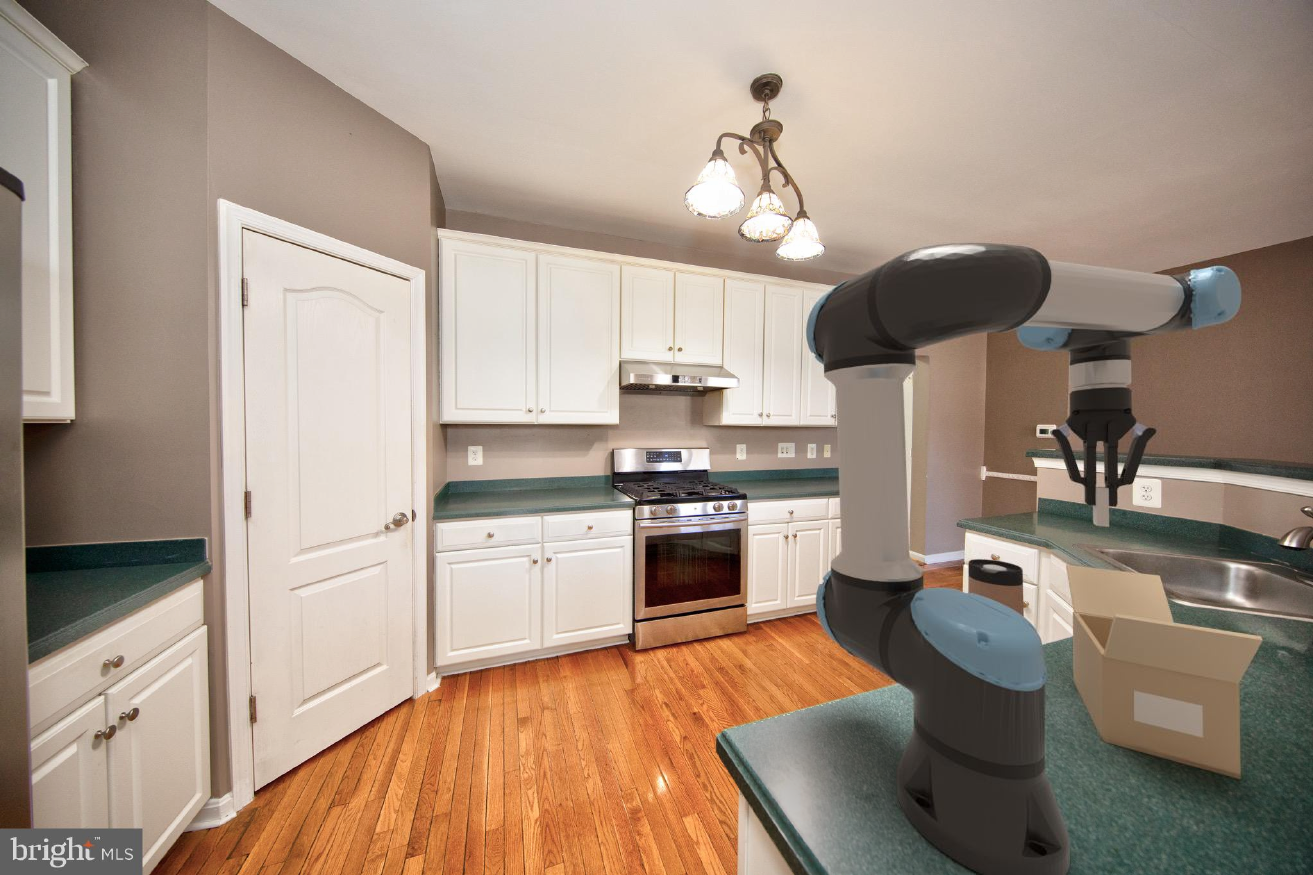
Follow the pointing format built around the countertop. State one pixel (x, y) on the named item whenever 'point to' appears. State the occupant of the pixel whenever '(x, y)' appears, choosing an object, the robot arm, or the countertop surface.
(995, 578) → the travel mug
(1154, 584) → the far flap
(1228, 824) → the countertop surface
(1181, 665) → the near flap
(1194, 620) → the countertop surface
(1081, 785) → the countertop surface
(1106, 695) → the carton
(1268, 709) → the countertop surface
